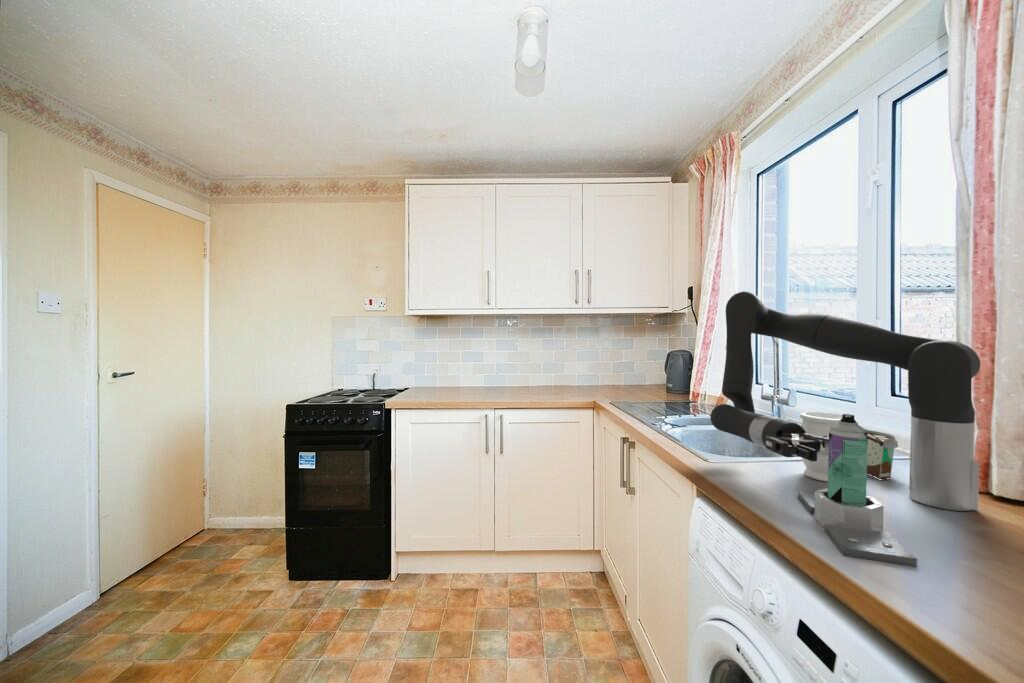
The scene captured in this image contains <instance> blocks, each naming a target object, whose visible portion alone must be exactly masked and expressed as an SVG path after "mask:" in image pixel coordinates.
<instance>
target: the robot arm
mask: <svg viewBox="0 0 1024 683" xmlns="http://www.w3.org/2000/svg"><path fill="white" fill-rule="evenodd" d="M725 322H726V324H725V325H726V352H725V362H724V371H723V372H724V373H723V377H722V378H723V379H722V386H721V393H722V395H723V396H724V397H725V398H727V399H728V400H729V401H731V402H732V404H733V405H729V404H727V403H720V404H717V405H716V406H715V407H713V408H712V410H711V413H710V422H711V424H712V426H713V427H714V428H715V429H716V430H717V431H721V432H723V433H727V434H729V435H734V436H737V437H739V438H742V439H743V440H746V441H748V442H750V443H753V444H755V445H758V446H759V447H761V448H762V449H765V450H767V451H770V452H772V453H775V454H778V455H780V456H783V457H785V458H794V457H795V458H797V457H799V458H801V459H802V458H804V459H807V460H809V461H817V454H820V455H825V456H828V455H829V436H827V435H825V436H823V437H820V436H814V435H813V434H808V433H806V432H805V430H804V429H803V428H802V427H801V424H799V423H797V422H793V421H790V420H786V419H783V418H780V417H775V416H772V415H771V416H770V415H764V414H761V413H756V409H755V405H754V399H753V395H752V394H753V393H752V390H753V382H754V358H753V350H752V349H753V348H752V334H755V335H760V336H766V337H772V338H775V339H780V340H783V341H787V342H789V343H792V344H795V345H798V346H803V347H804V348H808V349H811V350H814V351H818V352H822V353H824V354H828V355H833V356H837V357H840V358H846V359H850V360H851V359H853V360H858V361H865V362H871V363H872V362H873V363H880V364H883V365H884V364H885V365H889V366H893V367H897V368H899V369H903V370H905V371H907V387H908V388H907V391H908V392H907V393H908V395H907V396H908V403H909V405H910V410H911V411H910V412H911V413H910V452H909V454H910V455H909V460H910V461H909V485H908V486H909V487H908V489H909V490H908V493H909V494H908V496H909V498H910V499H911V500H914V501H915V502H917V503H920V504H922V505H926V506H929V507H934V508H939V509H942V510H943V509H944V510H949V511H957V512H959V511H960V512H964V511H965V512H967V511H979V494H980V493H979V492H980V491H979V489H980V488H979V487H980V462H978V460H975V459H974V453H975V450H974V449H975V420H976V418H975V416H976V415H975V414H976V412H975V408H974V405H973V401H972V385H973V384H972V379H973V378H974V377H975V376H976V375H977V374H978V373H979V371H980V369H981V360H980V356H979V355H978V354H977V353H976V351H975V350H974V349H972V348H971V347H970V346H968V345H966V344H964V343H962V342H959V341H955V340H954V341H953V340H943V339H935V338H927V337H921V336H916V335H915V336H914V335H910V334H904V333H899V332H895V331H892V330H888V329H885V328H882V327H879V326H876V325H873V324H869V323H867V322H863V321H862V322H861V321H859V320H854V319H851V318H847V317H843V316H839V315H838V316H837V315H833V314H829V313H823V312H822V313H820V312H810V313H809V312H808V313H801V314H800V313H799V314H796V313H795V314H793V313H788V312H783V311H779V310H776V309H774V308H773V309H772V308H770V307H768V306H766V305H765V304H764V303H763V302H762V300H761V298H759V297H758V296H757V295H756V294H754V293H753V292H750V291H739V292H737V293H735V294H733V295H732V296H730V298H729V299H728V301H727V303H726V305H725ZM821 445H822V447H823V448H825V451H820V449H821Z"/></svg>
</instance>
